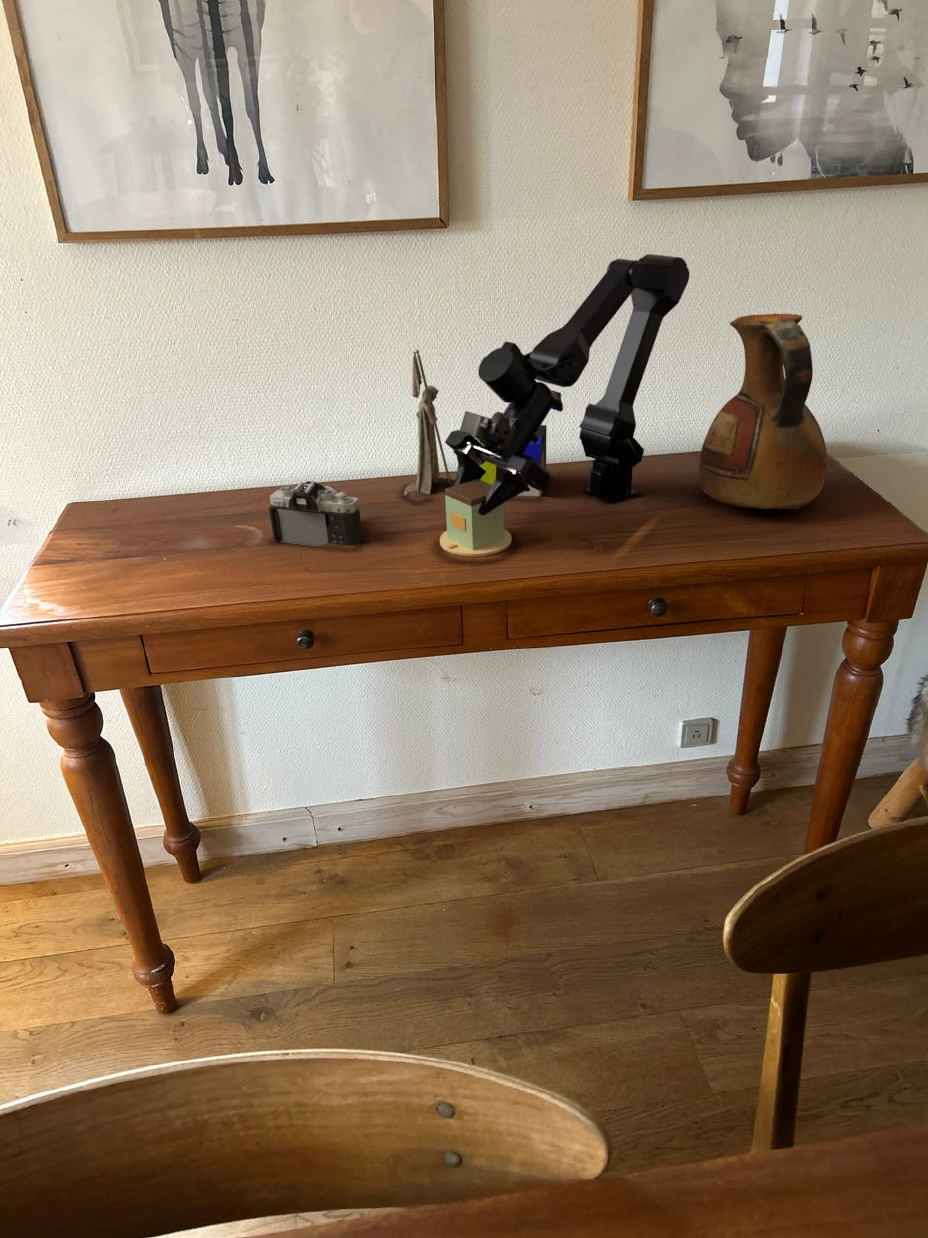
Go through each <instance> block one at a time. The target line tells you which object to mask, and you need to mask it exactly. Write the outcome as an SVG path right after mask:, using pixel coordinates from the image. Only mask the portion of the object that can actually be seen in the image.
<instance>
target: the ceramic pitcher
mask: <svg viewBox="0 0 928 1238" xmlns="http://www.w3.org/2000/svg"><path fill="white" fill-rule="evenodd" d="M802 320H803V315H799V314H794V313H793V314H792V313H764V314H763V313H761V314H749V315H742V316H739V317H737V318H735V319H734V320H732V321H730V322H729V325H730V326H731V327H732V328H733V329H734V330H736V332H737V333H738V335H739V337H740V339H741V341H742V345H743V349H744V374H743V375H744V376H743V382H742V385H741V388H740V390H739V391H738V392H737V394H736V395H734V396H733V397H731V398H730V399H729V400H728V401H727V402H726V403H725V404H724V405H723V406H722V408H720V410H719V411H718V412H717V414H716V416H715V417H714V418H713V420H712V423H711V424H710V426H709V428H708V431H707V433H706V435H705V438H704V441H703V443H702V446H701V451H700V457H699V466H698V467H699V468H698V469H699V470H698V471H699V482H700V487H701V489H702V491H703V492H704V493H705V494H706V495H708V496H709V497H711V498H712V499H714V500H715V501H717V502H719V503H722V504H727V505H731V506H736V507H741V508H748V509H759V510H760V509H762V510H767V509H768V510H775V509H776V510H782V509H787V510H798V509H800V508H802V507H805V506H806V505H808V504H810V503H811V502H813V500H815V499H816V497H817V496H819V494H820V493H821V492H822V490H823V487H824V483H825V479H826V475H827V465H828V454H827V453H828V452H827V446H826V441H825V437H824V434H823V432H822V428H821V425H820V424H819V422H818V420H817V418H816V417H815V415H814V413H813V412H812V411H811V410H810V408H809V407H808V405H807V404H806V402H807V400H808V396H809V394H810V390H811V385H812V381H813V375H814V369H813V368H814V367H813V357H812V349H811V344H810V341H809V338H808V337H807V335H806V333H805V332H804V330H803V328H802V326H801V325H800V324H799V323H800V322H801V321H802Z"/></svg>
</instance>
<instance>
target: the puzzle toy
mask: <svg viewBox="0 0 928 1238" xmlns="http://www.w3.org/2000/svg"><path fill="white" fill-rule="evenodd" d="M535 435H536V436H537V437H538V438H539V440H538V441H537V443H536V444H533V443H529V445H528V446H527V448H526V450H525V451H524V453H523V454H525V455H528V456H530V457H533V458H535V459H536V460H537V461H538V462H539V463H540V464H541V465H542V466H543V467H544V468H545V469H546V470H547V424H541V426H540V427H539V429H538V430H537V432H536V434H535ZM480 443H481V442H480ZM481 444H482V445H483V446H484V444H483V443H481ZM491 457H493V456H491ZM501 461H503V460H501ZM503 462H504V461H503ZM480 467H482V468H483V469H484V470H485V471H486V473H485V474H484V475H483V476H482V477H481V479H480V480H481V481H484V482H486V483H489V484H491V485H492V484H493V483H494V481H495V478H496V465H494V464H492V463H489V462H487V461H485V462H484V463H483V464H481V465H480ZM528 487H529V488H530V491H529V492H527V491H524V492H522V493H520V494H519V495H518V496H522V497H524V496H525V497H526V496H527V497H541V496H542V493H543V492H542V491H539V490H537V489H534V488H532V487H530V486H529V485H528Z"/></svg>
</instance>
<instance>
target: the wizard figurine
mask: <svg viewBox="0 0 928 1238" xmlns="http://www.w3.org/2000/svg"><path fill="white" fill-rule="evenodd" d="M412 353H413V356H412V370H411V371H412V372H411V373H412V374H411V375H412V376H411V380H412V383H411V385H412V388H411V389H412V390H411V391H412V392H411V395H412V397H413V398H417V399H418V398H419V396H420V395H421V400H420V401H419V404H418V405H419V406H418V411H417V412H416V418H417V420H418V431H417V432H418V433H417V435H418V457H417V458H418V459H417V472H416V481H413V482H411V483H410V484H409V485H407V486H406V488H405V489H404V491H403V496H407V495H408V494H410V493H411V492H413V491H415V492H417V493H422V494H425V495H431V489H432V483H438V482H439V480H438V478H440V474H441V473H440V466H439V456H438V446H437V443H438V445H439V449H440V454H441V458H442V462H443V465H444V469H445V474H446V477H447V478H446V479H447V481H448V484H449V485H450V486H451V485H452V482H451V477H450V473H449V467H448V465H447V461H446V456H445V453H444V447H443V444H442V441H441V436H440V432H439V428H438V423H437V421H438V417H437V414H436V407H435V405H434V403H433V402H434V401H435V400H436V399H437V398H438V394H439V392H440V391H439V390H438V388H437V387H436V386H434V385H431V384H430V385H428V383H427V377H426V375H425V371H424V366H423V363H422V359H421V358H422V357H421V355H420V350H419V349H416V350H415V351H413V352H412ZM422 383H423V385H424V389H423V391H422V393H421V385H422ZM436 436H437V437H436ZM437 441H438V442H437Z"/></svg>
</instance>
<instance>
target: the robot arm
mask: <svg viewBox="0 0 928 1238" xmlns="http://www.w3.org/2000/svg"><path fill="white" fill-rule="evenodd" d="M689 280H690V269H689V268H688V264H687V262H686V260H685V259H684V258H683V257H679V256H670V255H662V254H655V253H654V254H653V253H648V254H645V255H643V256H642V257H639V258H638V260H637V259H635V260H634V259H624V258H617V259H614V260H612V261H610V262H609V264H608V265H607V268H606V273H605V274H604V275H603V276H602V277H601V279H600V280H599V282H597V284H596V285H595V286H594V288H593V289H592V291H591V292H590V293H589V294H588V295H587V297H586V298H585V299H584V301H582V303H581V304H580V306H579V307H578V308H577V309H576V311H575V312H574V314H573V315H572V316H571V317H570V318H569V319H568V321H567V322H566V323H565V324H564V325H563V326H562V327H560V328H558V329H556V330H554V331H552V332H550V333H548V334H547V335H546V336H545V337H544V338H542V340H541V341H539V342H538V344H536V345H535V346H534V347H533V349H532V350H531V351H530V352H528V353H525V354H523V353H522V351H521V349H520V347H519V346H518V345H517V343H515V342H511V341H504V342H503V344H502V346H501V347H498V348H496V349H494V350H492V351H491V352H489V353H488V354H487V355H486V356H484V357H483V358H482V359H481V361H480V364H479V365H478V370H477V371H478V377H479V379H480V381H482V382H483V383H484V384H485V385H486V386H487V387H488V388H489V389H490V390H491V392H493V393H494V394H495V395H496V396H497V397H498V398H499V399H500V400H501V401H502V402H504V403H507V406H506V408H505V409H504V411H503V412H500V411H497V412H494V413H493V414H492V416H491V417H487V416H484V415H480V414H477V413H474V412H472V411H471V412H470V411H468V410H465V412H464V415H463V417H462V422H461V425H460V428H459V429H456V430H453V431H450V433H449V434H448V436H447V437H446V439H445V441H444V443H445V444H446V445H447V446H448V447H449V448H451V450H452V451H453V453H454V455H455V456H456V459H457V460H456V461H457V472H456V476H455V481H454V484H453V486H456V485H459V484H462V483H465V482H468V481H471V480H473V479H479V480H481V477H482V476H483V475H484V474H485V473H486V471H485V470H484V469H483V468H482V467H480V465H481V464H483V463H484V462H485V461H487V462H489V463H492V464H494V465H496V478H495V481H494V483H493V484H492V486H491V488H490V490H489V492H488V493H487V495H486V497H485V499H484V500H483V502H482V504H481V506H480V509H479V511H478V513H479V514H481V515H482V516H484V515H486V514H487V513H489V512H490V511H492V510H493V509H495V508H497V507H498V506H500V505H501V504H503V505H504V503H506V502H508V501H509V500H511V499H513V498H515V497H517V496H520V495H519V494H520V493H522V492H524V491H527V492H529V491H530V488H529V487H528V485H529V486H530V487H532V488H534V489H537V490H539V491H542V493H544V491H545V490H546V489H547V487H548V486H549V484H550V482H551V473H550V471H549V470H548V469H547V468H546V469H545V468H544V467H543V466H542V465H541V464H540V463H539V462H538V461H537V460H536V459H535V458H533V457H530V456H528V455H525V454H523V453H524V451H525V450H526V448H527V446H528V445H529V443H533V444H536V443H537V441H538V440H539V438H538V437H537V436H536V435H535V434H536V432H537V430H538V429H539V427H540V426H541V425H543V423H544V421H545V419H546V418H547V416H548V415H549V413H550V411H551V410H554V411H557V412H563V411H564V404H563V400H562V393H561V392H560V391H556V390H553V389H551V388H550V387H549V386H548V385H547V384H550V385H554V386H556V387H557V386H558V387H561V388H571V387H572V386H574V385H575V384H576V383H577V381H578V380H579V379H580V377H581V375H582V374H583V372H584V370H585V369H586V367H587V366H588V363H589V362H590V350H591V347H592V346H593V344H594V343H595V341H596V340H597V338H598V337H599V336H600V335H601V333H602V332H603V331H604V329H605V328H606V327H607V326H608V325H609V323H610V322H611V320H612V319H613V318H614V317H615V315H616V314H617V312H619V310H620V309H621V308H622V306H623V305H624V303H625V302H626V301H627V300H628V298H629V297H630V298H631V303H632V311H631V313H630V317H629V320H628V323H627V326H626V330H625V332H624V335H623V338H622V342H621V343H620V344H621V345H620V346H619V350H618V353H617V356H616V359H615V362H614V365H613V368H612V370H611V374H610V377H609V380H608V383H607V386H606V388H605V391H604V393H603V396H602V398H601V399H600V400H598V401H597V402H596V403H595V404H594V403H588V404H587V406H586V407H585V410H584V411H585V412H584V415H583V418H582V420H581V422H580V424H579V426H578V428H580V431H579V440H580V442H581V445H582V449H583V451H584V456H585V457H587V458H591V459H593V460H592V468H591V470H590V479H589V482H590V483H589V488H585V493H586V494H590V495H591V496H593V497H595V498H597V499H600V500H601V501H604V502H606V503H611V504H612V503H614V502H617V501H620V500H624V499H628V498H631V497H634V496H637V495H638V491H637V490H635V489H633V488H632V485H633V471H634V470H633V468H635V467H637V464H639V463H641V462H642V458H643V456H644V453H645V449H644V448H643V447H642V445H641V444H640V443H639V442H638V441H637V439H636V438H635V437H634V436H635V431H636V428H637V422H636V416H635V411H634V404H635V401H636V397H637V395H638V392H639V389H640V386H641V384H642V380H643V377H644V374H645V372H646V369H647V366H648V363H649V360H650V357H651V354H652V351H653V349H654V345H655V342H656V339H657V337H658V334H659V331H660V328H661V325H662V323H663V320H664V318H665V317H666V316H667V315H668V314H669V313H670V312H671V311H672V310H673V309H674V308H675V307H676V306H677V305H678V304H679V303H680V301H681V298H682V297H683V295H684V292H685V290H686V287H687V285H688V283H689ZM480 442H481V443H483V444H484V446H483V445H482V444H481V443H480ZM491 456H493V457H491ZM501 460H503V461H504V462H503V461H501Z"/></svg>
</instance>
